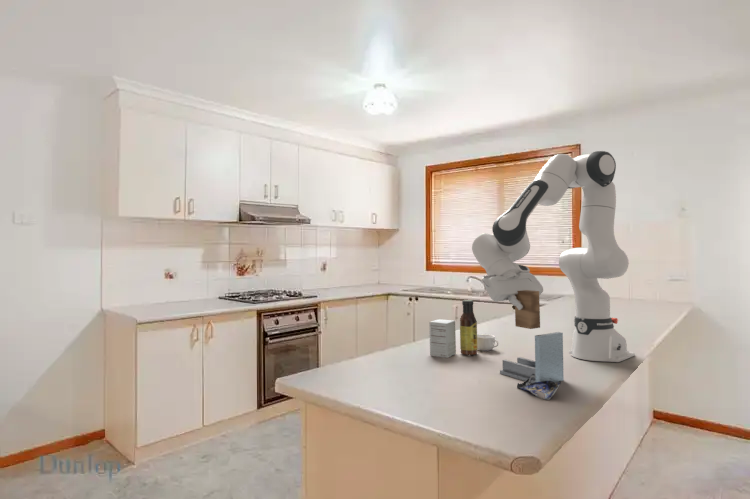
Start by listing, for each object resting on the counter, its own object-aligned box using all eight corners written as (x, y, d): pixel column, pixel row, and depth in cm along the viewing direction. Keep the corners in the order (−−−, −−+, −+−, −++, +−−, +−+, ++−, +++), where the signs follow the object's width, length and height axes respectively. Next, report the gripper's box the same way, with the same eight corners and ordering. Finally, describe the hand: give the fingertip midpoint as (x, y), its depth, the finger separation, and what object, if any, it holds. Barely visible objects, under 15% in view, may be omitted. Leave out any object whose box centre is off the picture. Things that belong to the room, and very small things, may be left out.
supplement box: (438, 351, 174) (438, 318, 174) (456, 354, 169) (455, 320, 169) (429, 355, 168) (428, 321, 168) (447, 358, 163) (446, 323, 163)
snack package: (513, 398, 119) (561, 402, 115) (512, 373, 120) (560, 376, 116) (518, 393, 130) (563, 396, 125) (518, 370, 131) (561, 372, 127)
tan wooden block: (524, 324, 142) (523, 289, 142) (540, 327, 137) (539, 291, 137) (515, 326, 140) (514, 290, 140) (530, 329, 135) (529, 292, 135)
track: (522, 369, 147) (521, 325, 147) (563, 380, 133) (562, 332, 133) (499, 373, 142) (499, 328, 142) (539, 385, 128) (539, 336, 128)
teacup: (470, 349, 176) (470, 336, 176) (482, 346, 182) (482, 333, 182) (492, 353, 169) (492, 339, 169) (504, 350, 174) (503, 336, 174)
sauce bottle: (477, 356, 166) (476, 301, 166) (460, 355, 167) (459, 301, 167) (477, 352, 172) (476, 299, 172) (460, 351, 173) (459, 299, 173)
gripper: (484, 269, 140) (509, 304, 131) (531, 266, 149) (557, 298, 141) (474, 283, 143) (498, 317, 135) (521, 279, 153) (545, 311, 145)
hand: (528, 307), depth 138 cm, fingers closed on tan wooden block, 4 cm apart
